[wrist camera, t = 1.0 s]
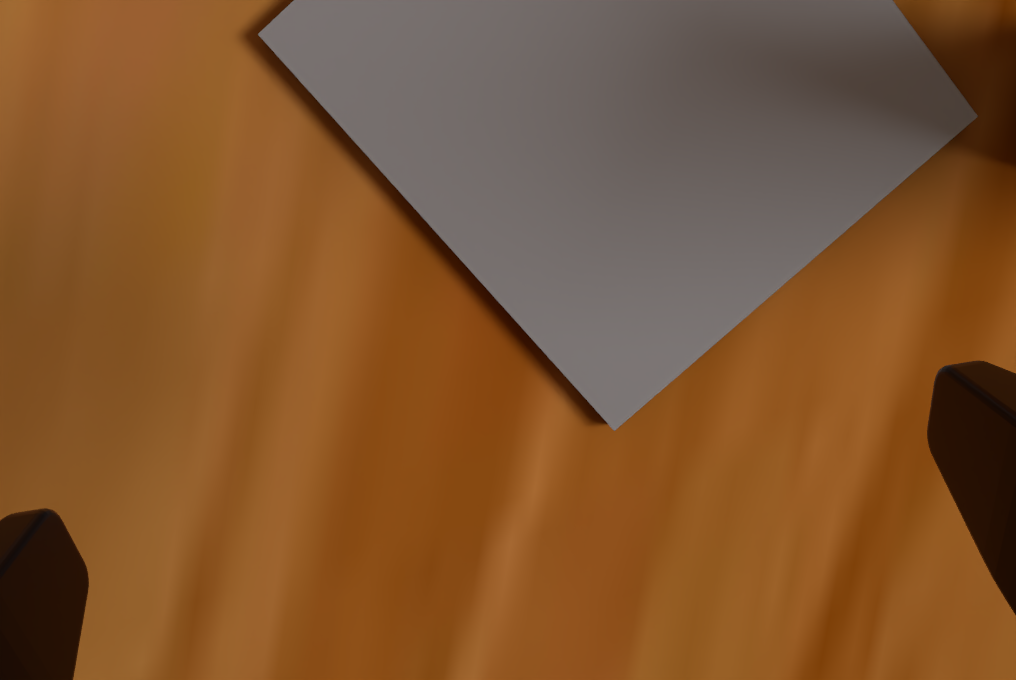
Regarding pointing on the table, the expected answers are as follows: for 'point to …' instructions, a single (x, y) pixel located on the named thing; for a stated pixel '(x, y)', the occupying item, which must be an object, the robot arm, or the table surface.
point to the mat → (628, 152)
